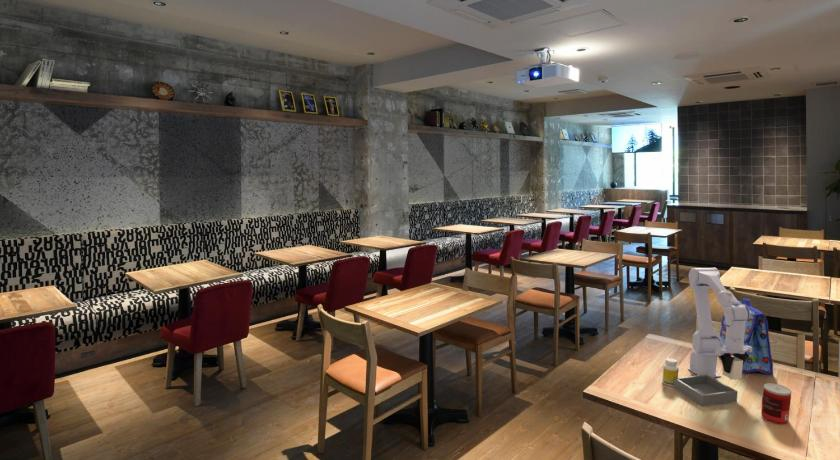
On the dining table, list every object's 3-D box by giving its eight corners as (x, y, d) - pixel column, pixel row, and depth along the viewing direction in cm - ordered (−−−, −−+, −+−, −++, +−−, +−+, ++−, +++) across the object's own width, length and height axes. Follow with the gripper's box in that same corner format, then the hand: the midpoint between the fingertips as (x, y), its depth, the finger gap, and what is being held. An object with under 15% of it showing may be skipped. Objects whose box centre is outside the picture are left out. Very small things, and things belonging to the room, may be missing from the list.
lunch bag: (715, 353, 221) (719, 292, 217) (747, 354, 219) (752, 292, 215) (739, 374, 200) (744, 306, 196) (775, 375, 198) (781, 307, 194)
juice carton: (722, 374, 184) (723, 354, 183) (731, 373, 185) (732, 353, 183) (732, 379, 179) (734, 359, 178) (741, 378, 180) (743, 358, 179)
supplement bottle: (679, 387, 189) (680, 363, 188) (664, 386, 190) (665, 362, 189) (675, 380, 195) (676, 357, 193) (660, 379, 196) (661, 356, 194)
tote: (673, 387, 189) (674, 378, 188) (705, 383, 192) (706, 374, 191) (702, 406, 175) (703, 395, 174) (736, 401, 177) (737, 391, 177)
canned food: (783, 414, 168) (786, 384, 167) (792, 426, 161) (795, 395, 159) (757, 411, 171) (760, 381, 169) (765, 422, 163) (768, 392, 162)
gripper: (727, 342, 174) (724, 378, 176) (760, 338, 177) (757, 373, 179) (711, 335, 181) (709, 370, 183) (744, 332, 184) (741, 366, 186)
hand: (732, 371), depth 182 cm, fingers closed on juice carton, 4 cm apart
